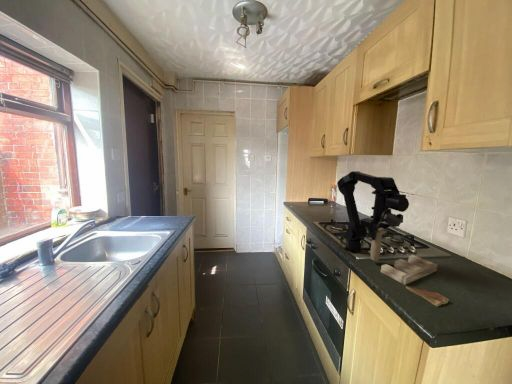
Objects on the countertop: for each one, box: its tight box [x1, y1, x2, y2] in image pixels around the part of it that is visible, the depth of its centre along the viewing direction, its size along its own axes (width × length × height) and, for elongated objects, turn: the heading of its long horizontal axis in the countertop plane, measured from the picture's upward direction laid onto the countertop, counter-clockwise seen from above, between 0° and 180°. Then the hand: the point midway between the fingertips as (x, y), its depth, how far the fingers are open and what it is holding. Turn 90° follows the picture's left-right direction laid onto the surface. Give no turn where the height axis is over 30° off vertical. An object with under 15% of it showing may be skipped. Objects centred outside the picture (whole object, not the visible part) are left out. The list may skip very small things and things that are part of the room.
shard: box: [405, 285, 450, 307], centre depth 78 cm, size 11×8×2 cm
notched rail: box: [380, 254, 438, 286], centre depth 93 cm, size 10×24×3 cm, turn 117°
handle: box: [370, 228, 388, 262], centre depth 98 cm, size 5×6×15 cm
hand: (376, 239), depth 97 cm, fingers closed on handle, 5 cm apart
